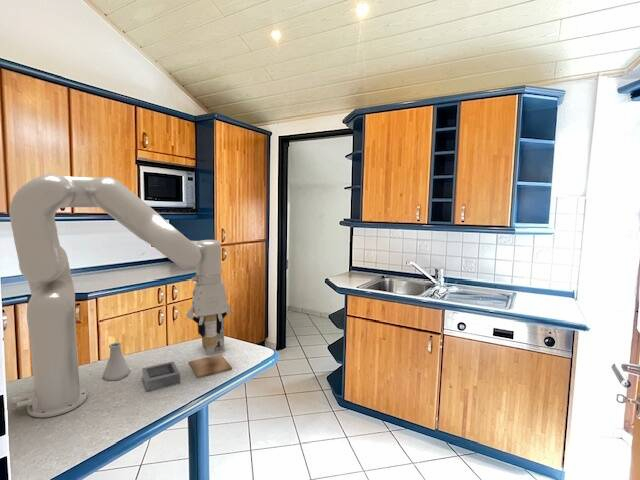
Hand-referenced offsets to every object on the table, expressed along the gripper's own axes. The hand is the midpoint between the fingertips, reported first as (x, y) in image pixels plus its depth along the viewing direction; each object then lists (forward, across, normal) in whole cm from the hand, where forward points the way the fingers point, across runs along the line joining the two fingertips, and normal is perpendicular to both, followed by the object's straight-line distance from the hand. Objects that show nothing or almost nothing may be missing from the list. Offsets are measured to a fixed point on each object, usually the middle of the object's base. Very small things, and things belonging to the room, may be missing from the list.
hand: (209, 333), depth 114 cm
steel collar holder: (+11, -15, -1) cm, 19 cm away
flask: (+12, -26, +9) cm, 30 cm away
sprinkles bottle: (+4, 0, 0) cm, 4 cm away
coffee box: (+12, +5, +13) cm, 18 cm away
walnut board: (+11, 0, 0) cm, 11 cm away
